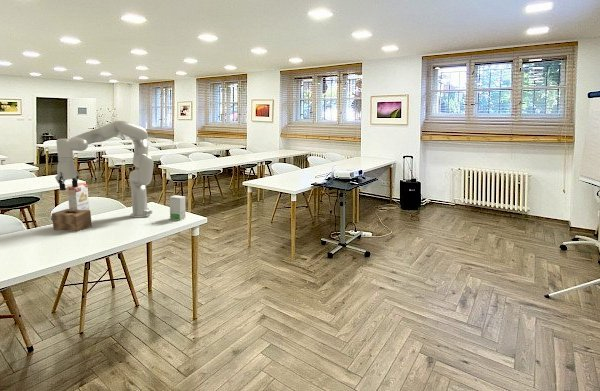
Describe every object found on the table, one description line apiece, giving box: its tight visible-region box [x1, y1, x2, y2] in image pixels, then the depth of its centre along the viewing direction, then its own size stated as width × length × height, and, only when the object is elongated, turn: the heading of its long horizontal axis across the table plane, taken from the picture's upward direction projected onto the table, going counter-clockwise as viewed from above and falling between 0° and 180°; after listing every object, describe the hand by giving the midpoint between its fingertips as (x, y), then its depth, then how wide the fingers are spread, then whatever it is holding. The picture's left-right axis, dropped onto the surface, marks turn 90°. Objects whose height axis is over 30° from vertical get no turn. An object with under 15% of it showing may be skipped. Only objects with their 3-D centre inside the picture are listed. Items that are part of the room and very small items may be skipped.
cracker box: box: [66, 182, 90, 210], centre depth 254 cm, size 14×6×21 cm, turn 179°
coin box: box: [51, 208, 93, 233], centre depth 226 cm, size 16×12×10 cm
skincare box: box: [169, 194, 186, 221], centre depth 250 cm, size 8×7×16 cm
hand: (69, 188), depth 222 cm, fingers open, 9 cm apart
